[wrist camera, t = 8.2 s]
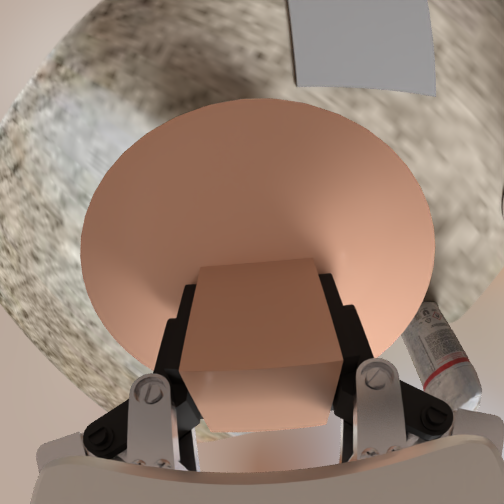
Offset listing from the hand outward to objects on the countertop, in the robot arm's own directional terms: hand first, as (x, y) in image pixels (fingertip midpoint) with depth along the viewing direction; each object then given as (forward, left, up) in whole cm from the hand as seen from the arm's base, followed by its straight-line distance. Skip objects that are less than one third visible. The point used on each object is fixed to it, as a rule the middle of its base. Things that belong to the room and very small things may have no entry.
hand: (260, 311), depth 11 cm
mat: (-13, -16, -21) cm, 30 cm away
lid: (0, 0, -1) cm, 1 cm away
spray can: (-25, +26, -21) cm, 42 cm away
